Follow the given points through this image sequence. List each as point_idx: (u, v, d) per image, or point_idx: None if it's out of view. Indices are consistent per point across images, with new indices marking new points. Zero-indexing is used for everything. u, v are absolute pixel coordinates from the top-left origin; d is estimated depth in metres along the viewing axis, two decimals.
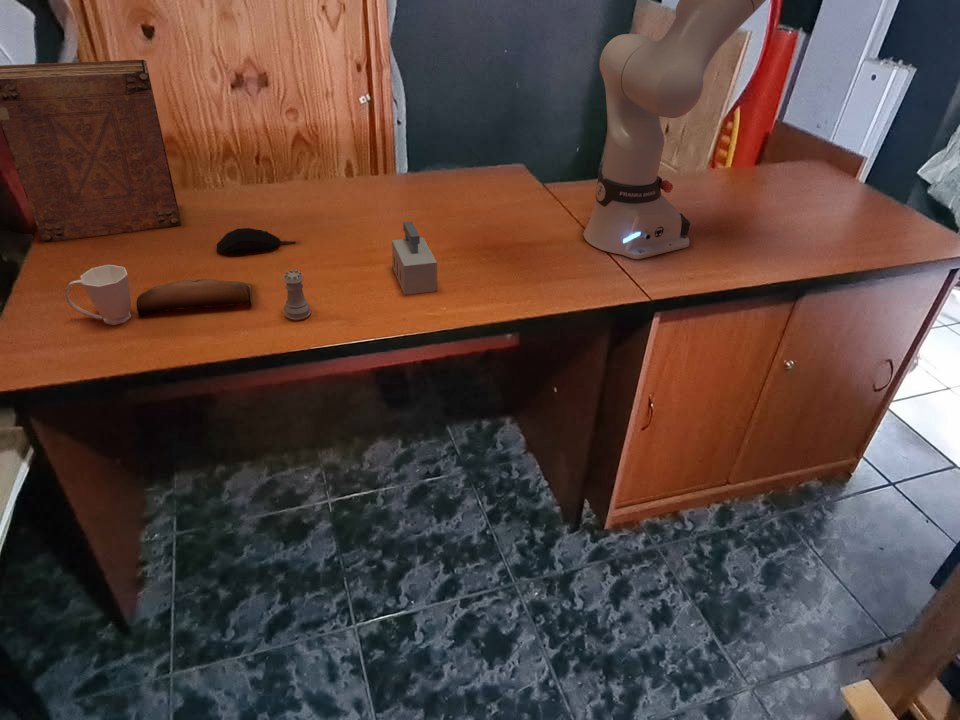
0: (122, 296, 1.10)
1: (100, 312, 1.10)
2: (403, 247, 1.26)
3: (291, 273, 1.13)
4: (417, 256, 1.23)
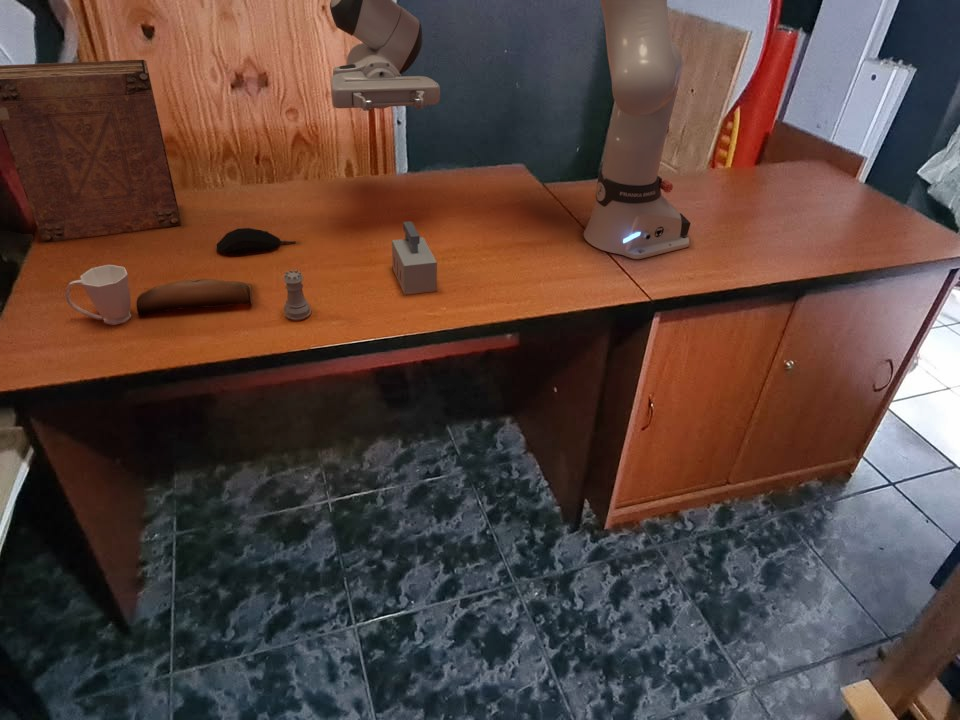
0: (122, 296, 1.10)
1: (100, 312, 1.10)
2: (403, 247, 1.26)
3: (291, 273, 1.13)
4: (417, 256, 1.23)
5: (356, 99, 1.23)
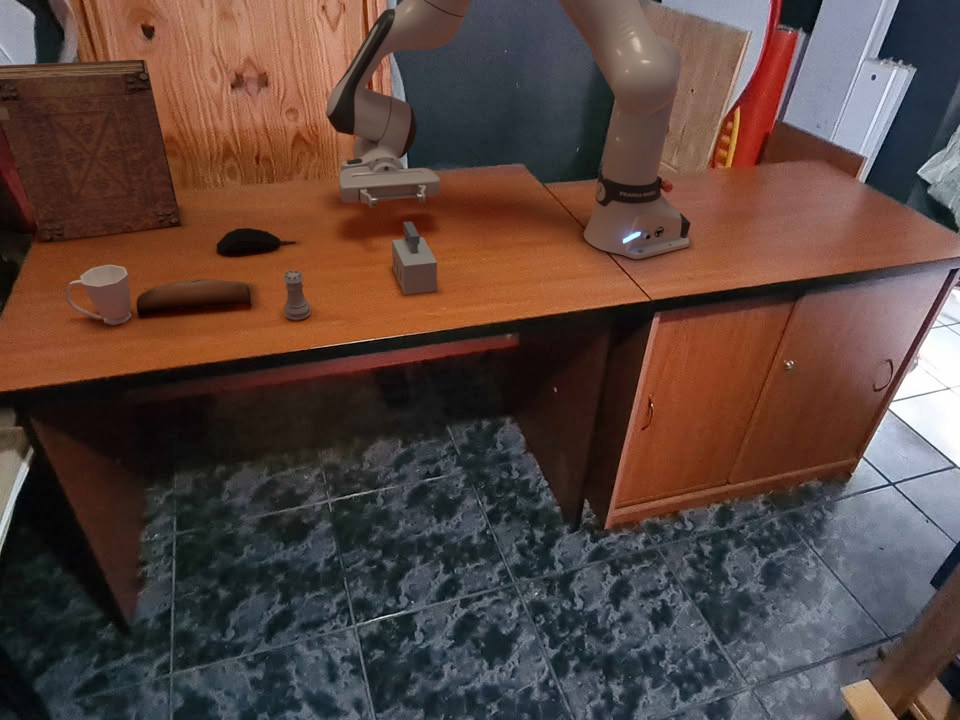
0: (122, 296, 1.10)
1: (100, 312, 1.10)
2: (403, 247, 1.26)
3: (291, 273, 1.13)
4: (417, 256, 1.23)
5: (363, 196, 1.33)
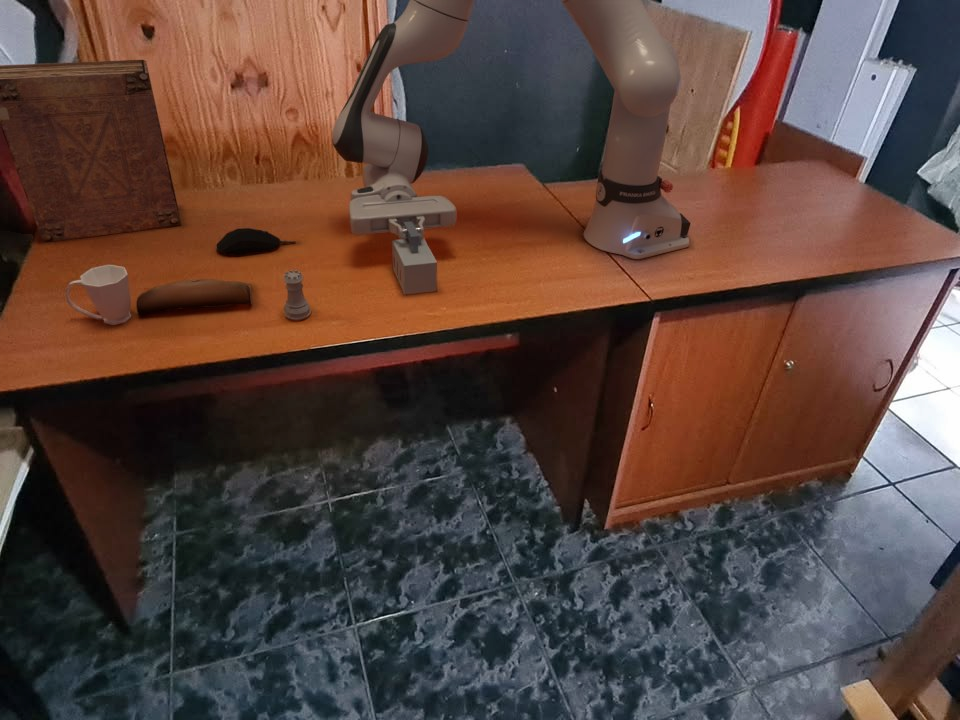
0: (122, 296, 1.10)
1: (100, 312, 1.10)
2: (403, 247, 1.26)
3: (291, 273, 1.13)
4: (417, 256, 1.23)
5: (392, 226, 1.26)
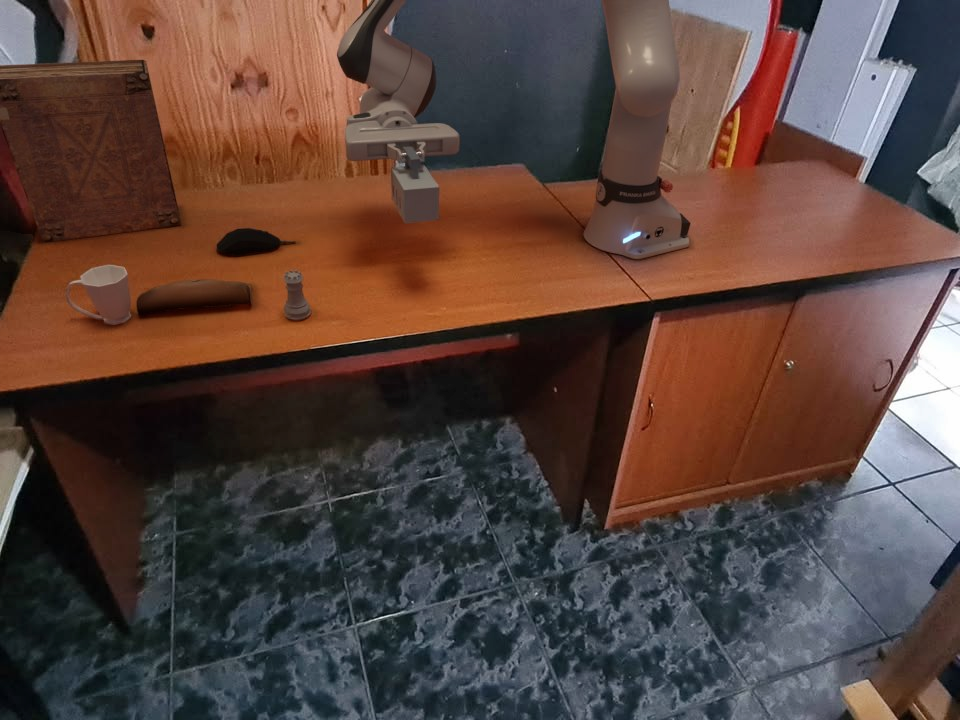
0: (122, 296, 1.10)
1: (100, 312, 1.10)
2: (403, 173, 1.17)
3: (291, 273, 1.13)
4: (418, 181, 1.15)
5: (391, 151, 1.17)
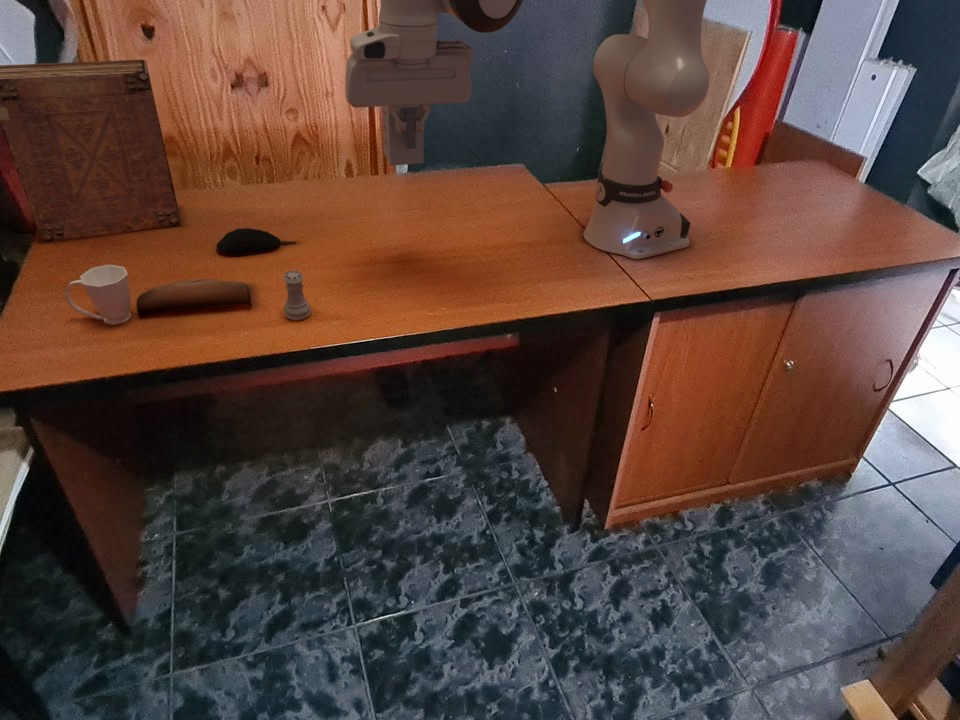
0: (122, 296, 1.10)
1: (100, 312, 1.10)
2: None
3: (291, 273, 1.13)
4: (407, 149, 1.19)
5: (392, 114, 1.12)
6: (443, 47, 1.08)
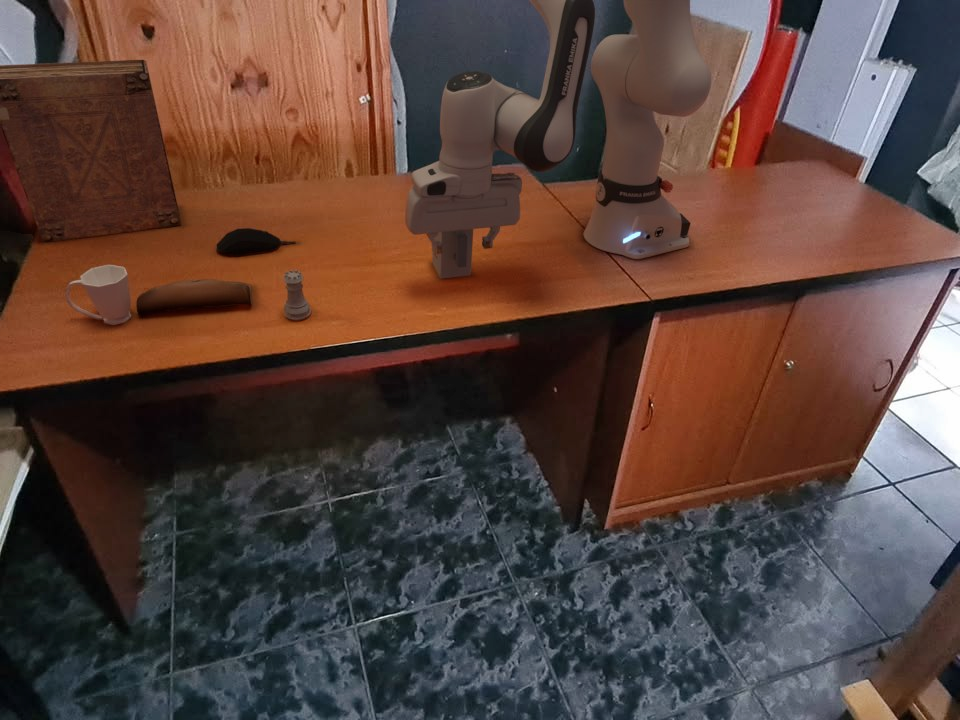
0: (122, 296, 1.10)
1: (100, 312, 1.10)
2: (449, 246, 1.26)
3: (291, 273, 1.13)
4: (456, 264, 1.28)
5: (429, 239, 1.20)
6: (497, 179, 1.17)
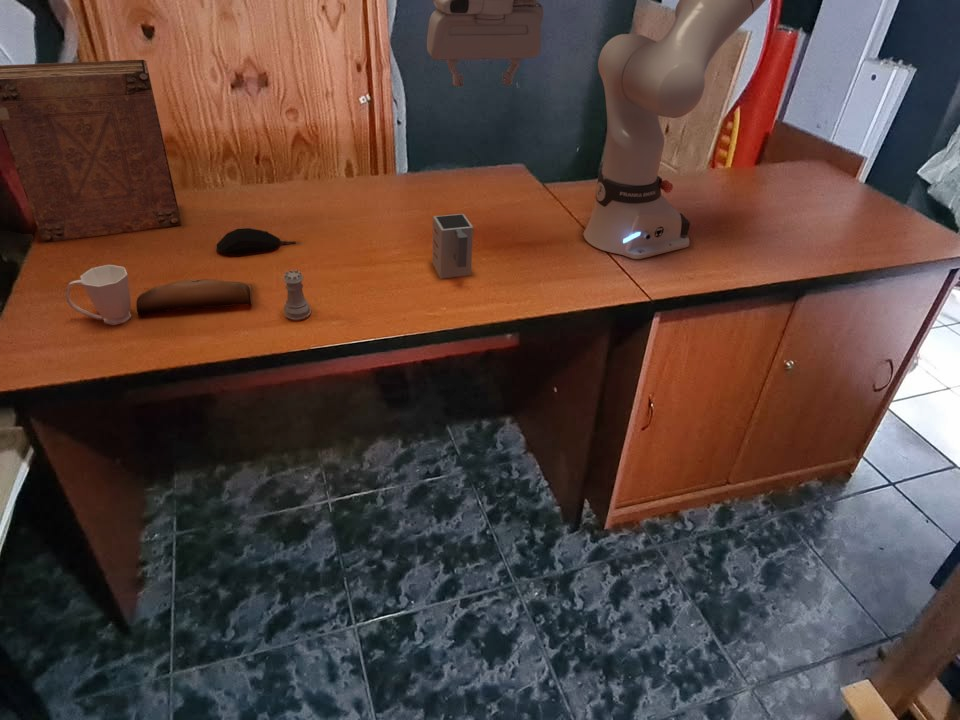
0: (122, 296, 1.10)
1: (100, 312, 1.10)
2: (449, 246, 1.26)
3: (291, 273, 1.13)
4: (456, 264, 1.28)
5: (450, 68, 1.20)
6: (518, 5, 1.18)
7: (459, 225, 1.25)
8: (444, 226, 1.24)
